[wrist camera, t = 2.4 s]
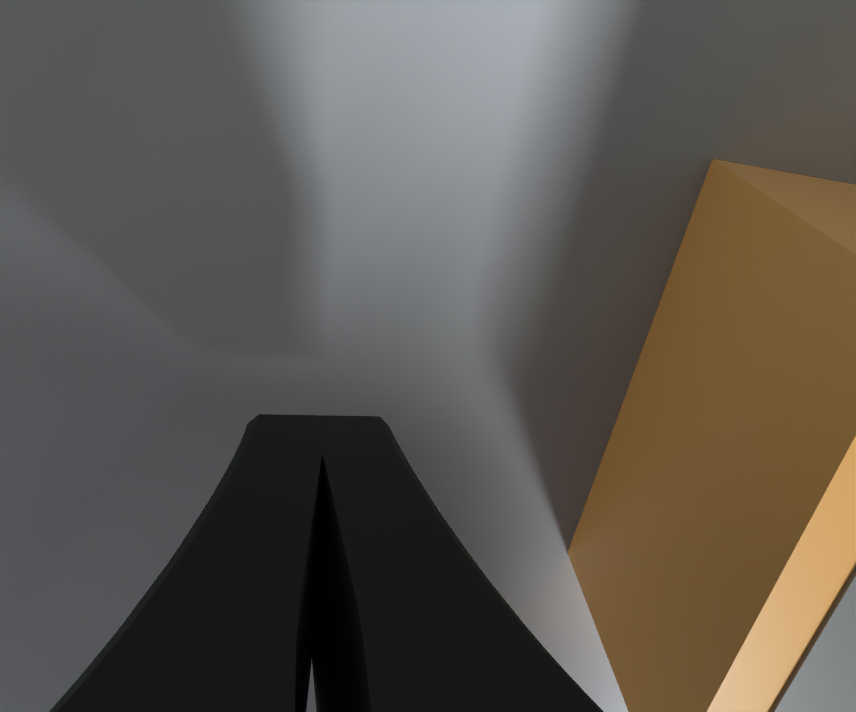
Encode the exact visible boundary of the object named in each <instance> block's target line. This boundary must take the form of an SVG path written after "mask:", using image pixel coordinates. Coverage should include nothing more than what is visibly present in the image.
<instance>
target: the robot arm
mask: <svg viewBox="0 0 856 712" xmlns="http://www.w3.org/2000/svg"><path fill="white" fill-rule="evenodd" d="M311 659H312V665H313V676H314V687H315V698H316V709H317V712H603V711H602V710H601V709H600V707H599V706H598V705H597V704H596V703H595V702H594V701H593V700H592V699H591V698H590V697H589V696H588V695H587V694H586V693H585V692H584V691H583V690H582V689H581V688H580V686H579V685H578V684H577V683H576V682H575V681H574V680H573V679H572V678H571V677H570V676H569V675H568V674H567V673H566V672H565V670H564V669H563V668H562V667H561V666H560V665H559V664H558V663H557V662H556V660H555V659H554V658H553V657H552V656H551V655H550V654H549V653H548V652H547V650H546V649H545V648H544V647H543V646H542V645H541V643H540V642H539V641H538V640H537V639H536V638H535V636H534V635H533V634H532V633H531V632H530V631H529V629H528V628H527V627H526V626H525V625H524V623H523V622H522V621H521V620H520V618H519V617H518V616H517V615H516V614H515V612H514V611H513V610H512V609H511V607H510V606H509V605H508V604H507V603H506V601H505V600H504V599H503V598H502V596H501V595H500V594H499V593H498V591H497V590H496V589H495V588H494V586H493V585H492V584H491V582H490V581H489V580H488V579H487V577H486V576H485V575H484V573H483V572H482V571H481V569H480V568H479V567H478V565H477V564H476V563H475V561H474V560H473V559H472V557H471V556H470V554H469V553H468V552H467V550H466V549H465V547H464V546H463V545H462V543H461V542H460V540H459V539H458V538H457V536H456V535H455V533H454V532H453V531H452V529H451V528H450V526H449V525H448V524H447V522H446V521H445V519H444V518H443V516H442V515H441V513H440V512H439V510H438V509H437V507H436V506H435V504H434V503H433V501H432V500H431V498H430V497H429V495H428V494H427V492H426V490H425V489H424V487H423V486H422V484H421V482H420V481H419V479H418V478H417V476H416V474H415V473H414V471H413V469H412V468H411V466H410V464H409V463H408V461H407V459H406V458H405V456H404V454H403V452H402V451H401V449H400V447H399V445H398V443H397V441H396V439H395V438H394V436H393V434H392V432H391V430H390V427H389V426H388V425H387V424H386V423H385V422H384V421H383V420H382V419H381V418H380V417H371V416H317V415H264V414H259V415H258V416H257V417H255V418H254V419H253V420H252V421H251V422H249V423H248V424H247V427H246V430H245V433H244V436H243V438H242V440H241V442H240V445H239V447H238V449H237V451H236V453H235V455H234V457H233V459H232V461H231V463H230V465H229V467H228V469H227V471H226V472H225V474H224V476H223V478H222V479H221V481H220V483H219V485H218V486H217V488H216V490H215V492H214V493H213V495H212V497H211V499H210V500H209V502H208V503H207V505H206V506H205V508H204V509H203V511H202V513H201V514H200V516H199V517H198V519H197V520H196V522H195V523H194V525H193V527H192V528H191V530H190V531H189V533H188V534H187V536H186V537H185V539H184V541H183V542H182V544H181V545H180V547H179V548H178V550H177V551H176V553H175V554H174V556H173V557H172V558H171V560H170V561H169V563H168V564H167V566H166V567H165V568H164V570H163V571H162V572H161V574H160V575H159V576H158V578H157V579H156V580H155V582H154V583H153V584H152V586H151V587H150V588H149V590H148V591H147V592H146V594H145V595H144V596H143V598H142V599H141V600H140V602H139V603H138V604H137V606H136V607H135V608H134V610H133V611H132V612H131V614H130V615H129V617H128V618H127V619H126V621H125V622H124V623H123V625H122V626H121V627H120V628H119V630H118V631H117V632H116V634H115V635H114V636H113V637H112V639H111V640H110V641H109V642H108V643H107V645H106V646H105V647H104V648H103V650H102V651H101V652H100V653H99V654H98V656H97V657H96V658H95V659H94V661H93V662H92V663H91V664H90V665H89V667H88V668H87V669H86V670H85V671H84V672H83V674H82V675H81V676H80V677H79V678H78V680H77V681H76V682H75V683H74V684H73V685H72V687H71V688H70V689H69V690H68V691H67V692H66V693H65V695H64V696H63V697H62V698H61V699H60V700H59V701H58V702H57V704H56V705H55V706H54V707H53V708H52V709H51V710H50V712H306V709H307V699H308V689H309V679H310V669H311Z"/></svg>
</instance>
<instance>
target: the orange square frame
mask: <svg viewBox="0 0 856 712" xmlns="http://www.w3.org/2000/svg"><path fill="white" fill-rule="evenodd" d="M568 555H569V558H570V560H571V563H572V566H573V568H574V571H575V573H576V576H577V579H578V581H579V584H580V586H581V589H582V592H583V594H584V597H585V599H586V602H587V605H588V607H589V610H590V612H591V615H592V618H593V620H594V623H595V625H596V628H597V631H598V633H599V636H600V638H601V641H602V644H603V646H604V649H605V651H606V654H607V657H608V659H609V662H610V664H611V667H612V670H613V672H614V675H615V677H616V680H617V683H618V685H619V688H620V690H621V693H622V696H623V698H624V701H625V703H626V706H627V709H628V711H629V712H856V185H855V184H849V183H844V182H838V181H833V180H827V179H822V178H816V177H811V176H805V175H800V174H794V173H789V172H783V171H778V170H772V169H767V168H761V167H756V166H750V165H745V164H739V163H734V162H728V161H723V160H717V159H712V161H711V164H710V167H709V170H708V172H707V175H706V178H705V180H704V183H703V186H702V189H701V191H700V194H699V197H698V200H697V202H696V205H695V208H694V210H693V213H692V216H691V219H690V221H689V224H688V227H687V229H686V232H685V235H684V238H683V240H682V243H681V246H680V248H679V251H678V254H677V257H676V259H675V262H674V265H673V268H672V270H671V273H670V276H669V278H668V281H667V284H666V287H665V289H664V292H663V295H662V297H661V300H660V303H659V306H658V308H657V311H656V314H655V316H654V319H653V322H652V325H651V327H650V330H649V333H648V335H647V338H646V341H645V344H644V346H643V349H642V352H641V355H640V357H639V360H638V363H637V365H636V368H635V371H634V374H633V376H632V379H631V382H630V384H629V387H628V390H627V393H626V395H625V398H624V401H623V403H622V406H621V409H620V412H619V414H618V417H617V420H616V422H615V425H614V428H613V431H612V433H611V436H610V439H609V442H608V444H607V447H606V450H605V452H604V455H603V458H602V461H601V463H600V466H599V469H598V471H597V474H596V477H595V480H594V482H593V485H592V488H591V490H590V493H589V496H588V499H587V501H586V504H585V507H584V509H583V512H582V515H581V518H580V520H579V523H578V526H577V529H576V531H575V534H574V537H573V539H572V542H571V545H570V548H569V550H568Z"/></svg>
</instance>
